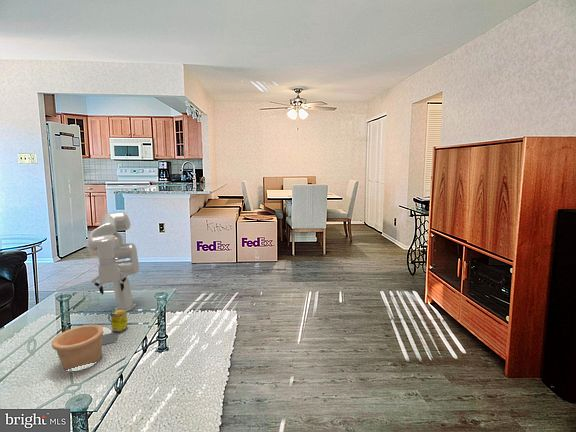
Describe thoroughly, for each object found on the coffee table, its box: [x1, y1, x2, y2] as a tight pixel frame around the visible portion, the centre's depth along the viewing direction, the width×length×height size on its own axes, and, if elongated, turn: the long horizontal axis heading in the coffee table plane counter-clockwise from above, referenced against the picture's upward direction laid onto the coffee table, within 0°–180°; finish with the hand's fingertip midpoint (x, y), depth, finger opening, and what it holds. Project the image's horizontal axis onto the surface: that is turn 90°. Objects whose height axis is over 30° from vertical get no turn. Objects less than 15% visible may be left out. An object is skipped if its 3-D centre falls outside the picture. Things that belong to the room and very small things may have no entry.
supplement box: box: [110, 310, 129, 334], centre depth 206 cm, size 6×6×11 cm
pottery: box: [51, 323, 104, 371], centre depth 176 cm, size 22×22×14 cm
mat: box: [101, 332, 119, 346], centre depth 196 cm, size 12×20×1 cm, turn 111°
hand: (112, 291), depth 194 cm, fingers open, 9 cm apart
